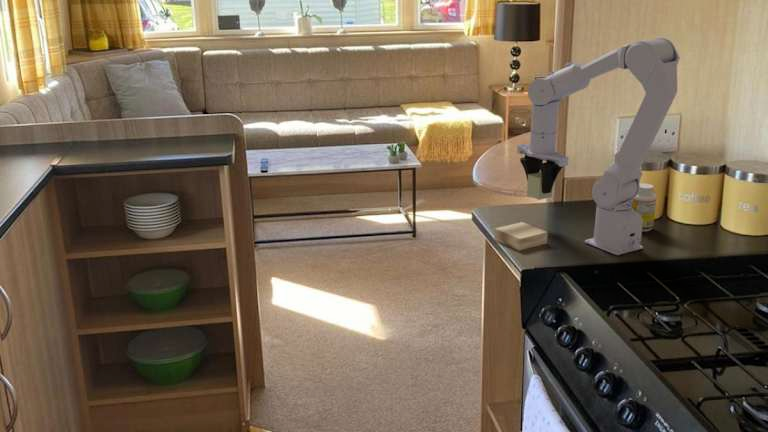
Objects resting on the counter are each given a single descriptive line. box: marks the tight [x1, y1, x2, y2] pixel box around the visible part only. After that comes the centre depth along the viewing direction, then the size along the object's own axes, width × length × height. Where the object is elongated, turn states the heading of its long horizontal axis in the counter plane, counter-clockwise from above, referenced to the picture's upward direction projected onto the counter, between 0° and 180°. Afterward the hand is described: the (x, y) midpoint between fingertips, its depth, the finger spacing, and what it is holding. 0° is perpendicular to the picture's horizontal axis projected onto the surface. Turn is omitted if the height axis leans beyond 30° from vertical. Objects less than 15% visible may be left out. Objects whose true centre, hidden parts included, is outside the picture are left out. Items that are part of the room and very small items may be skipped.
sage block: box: [526, 171, 554, 201], centre depth 180 cm, size 4×4×5 cm
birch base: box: [493, 221, 548, 251], centre depth 172 cm, size 8×8×3 cm
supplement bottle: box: [632, 182, 657, 233], centre depth 179 cm, size 6×6×10 cm
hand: (539, 190), depth 180 cm, fingers closed on sage block, 4 cm apart
